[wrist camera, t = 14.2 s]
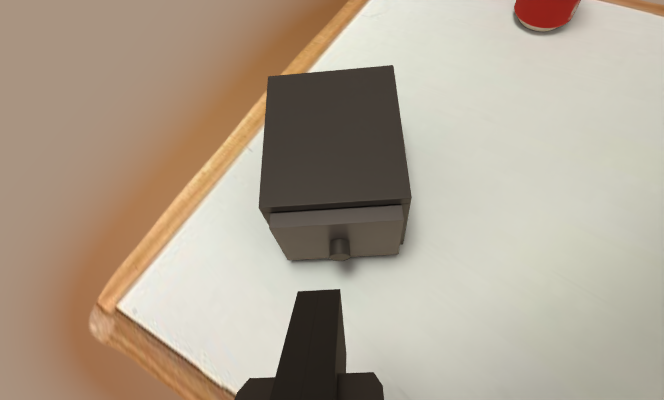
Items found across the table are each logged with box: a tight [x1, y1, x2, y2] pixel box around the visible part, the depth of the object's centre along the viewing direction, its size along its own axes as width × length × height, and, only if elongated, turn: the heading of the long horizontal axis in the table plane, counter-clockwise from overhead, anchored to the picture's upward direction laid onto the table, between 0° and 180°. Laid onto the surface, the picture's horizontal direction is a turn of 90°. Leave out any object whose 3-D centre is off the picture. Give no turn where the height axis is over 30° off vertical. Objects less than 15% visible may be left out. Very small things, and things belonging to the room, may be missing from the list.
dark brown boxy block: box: [259, 65, 411, 244], centre depth 34 cm, size 13×11×9 cm
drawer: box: [269, 204, 404, 261], centre depth 32 cm, size 13×9×7 cm
